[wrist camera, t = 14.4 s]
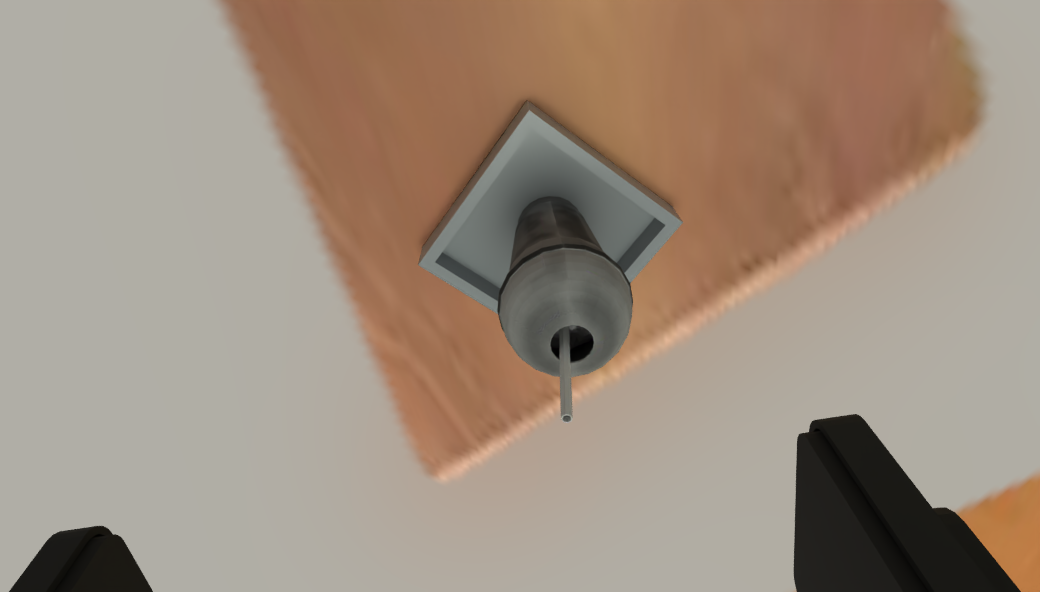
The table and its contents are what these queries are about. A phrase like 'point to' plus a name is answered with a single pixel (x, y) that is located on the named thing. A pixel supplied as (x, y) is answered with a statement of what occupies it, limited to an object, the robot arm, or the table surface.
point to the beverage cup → (563, 296)
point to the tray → (527, 177)
